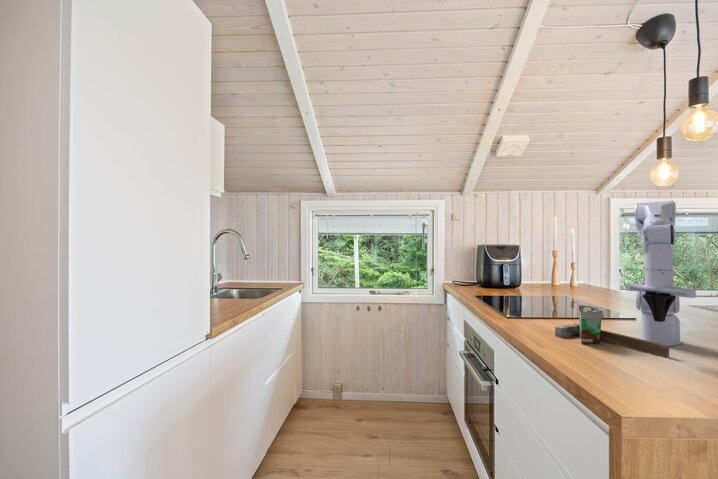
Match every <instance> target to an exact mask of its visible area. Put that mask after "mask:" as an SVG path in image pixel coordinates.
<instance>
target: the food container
mask: <svg viewBox="0 0 718 479" xmlns="http://www.w3.org/2000/svg"><path fill="white" fill-rule="evenodd" d="M604 317H605V313H604V311H603V310H602V308H600V307H596V306H592V305H583V304H578V320H579V322H578V325H579V334H580V335H579V340H580V344H581V345H589V346H590V345H591V346H592V345H599V344H600V343H601V341H600V333H601V330H602V319H604Z"/></svg>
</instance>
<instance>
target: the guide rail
mask: <svg viewBox="0 0 718 479" xmlns="http://www.w3.org/2000/svg"><path fill="white" fill-rule="evenodd" d="M554 328H555V329H554V335H555V337H557V338H566V337H574V336H580V334H579V323H574V324H573V323H572V324H565V325H558V326H555V327H554ZM638 338H639V337H634V336H628V335H624V334H621V333H620V334H619V333H617V332H611V331H608V330H603V329H601V333H600V342H604V343H609V344H612V345H615V346H620V347H623V348H626V349H630V350H631V349H632V350H635V351H639V352H643V353H646V354H650V355H654V356H657V357H661V358H662V357H663V358H664V359H666V358H670V346H669V345H664V344H660V343H656V342H651V341H647V340H643V339H638Z"/></svg>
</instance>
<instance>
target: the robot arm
mask: <svg viewBox="0 0 718 479" xmlns="http://www.w3.org/2000/svg"><path fill="white" fill-rule="evenodd" d="M676 208H677V207H676V202H675V201H674V200H670V201H669V200H668V201H654V202H652V201H651V202H636V203H635V204H634V220H635V228H636V230H637V231H638V232H640V233H641V236H642V237H641V239H642V240H641V241H642V246H643V253H644V255H643V257H644V280H643V281H641V282H639V283H627V284H626V291H629V292H630V291H631V292H635V304H636V306H635V308H636V309H637V310H638V311H640V312H641V337H637V338H638V339H643V340H647V341H651V342H656V343H660V344H664V345H669V347H673V346H678V345H682V344H685V342H684V341H682V340H681V322H680V319H679V318H678V316H677V315H676V314H678V313H679V312H680V307H681V306H680V297H683V298H689V299H692V298H694V299H695V298H696V297H697V290H696V289H694V288H693V289H692V288H691V289H690V288H684V287H677V286H676V285H675V284H674V246H675V244H676V228H675V225H676V218H677V216H676V215H677V213H676V210H677V209H676Z"/></svg>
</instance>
